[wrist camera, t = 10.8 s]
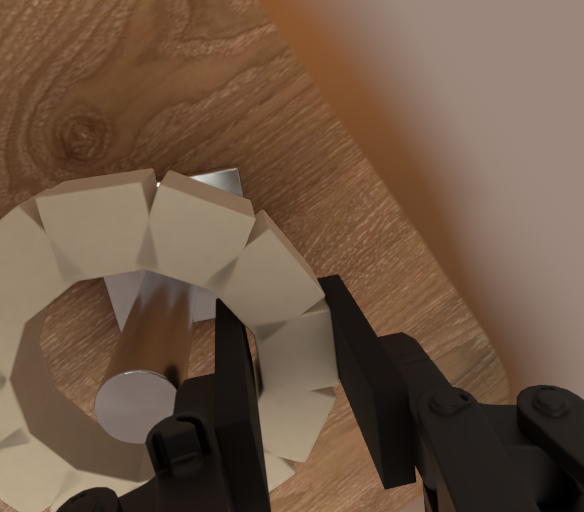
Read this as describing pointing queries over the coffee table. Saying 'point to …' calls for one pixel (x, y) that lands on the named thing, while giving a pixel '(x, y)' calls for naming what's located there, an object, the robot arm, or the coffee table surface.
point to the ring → (170, 262)
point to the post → (153, 338)
